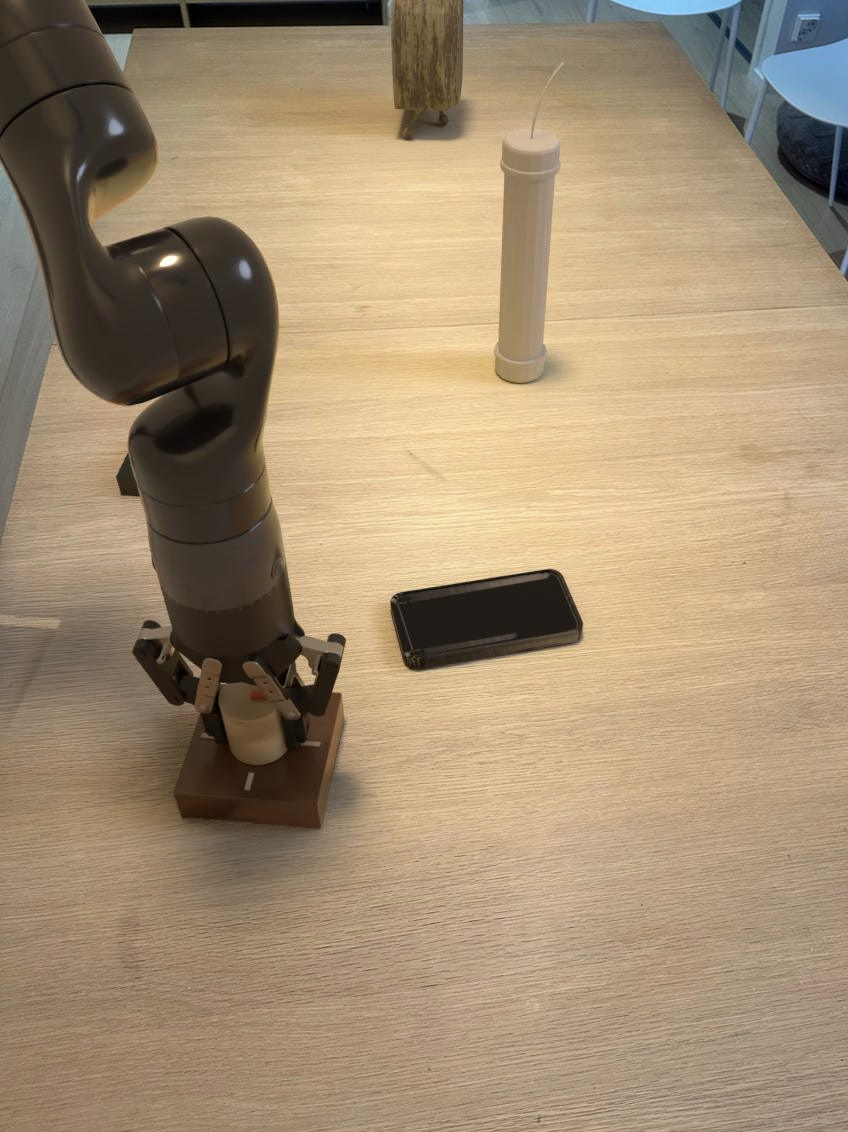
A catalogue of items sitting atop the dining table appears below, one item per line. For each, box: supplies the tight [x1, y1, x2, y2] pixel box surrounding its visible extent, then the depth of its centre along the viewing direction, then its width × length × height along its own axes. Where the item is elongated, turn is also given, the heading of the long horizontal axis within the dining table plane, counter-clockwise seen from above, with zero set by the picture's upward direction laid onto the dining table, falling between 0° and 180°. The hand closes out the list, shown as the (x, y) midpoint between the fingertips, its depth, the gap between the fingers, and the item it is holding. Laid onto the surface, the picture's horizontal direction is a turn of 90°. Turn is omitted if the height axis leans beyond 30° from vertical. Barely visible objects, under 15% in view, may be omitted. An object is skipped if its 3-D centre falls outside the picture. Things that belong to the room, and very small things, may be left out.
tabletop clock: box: [390, 0, 464, 140], centre depth 148 cm, size 14×9×25 cm, turn 178°
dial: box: [218, 683, 288, 765], centre depth 74 cm, size 4×4×5 cm
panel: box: [172, 683, 345, 829], centre depth 77 cm, size 10×10×3 cm
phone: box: [389, 568, 584, 670], centre depth 87 cm, size 8×1×15 cm
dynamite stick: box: [493, 61, 565, 384], centre depth 103 cm, size 6×6×30 cm
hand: (259, 736), depth 75 cm, fingers closed on dial, 4 cm apart
